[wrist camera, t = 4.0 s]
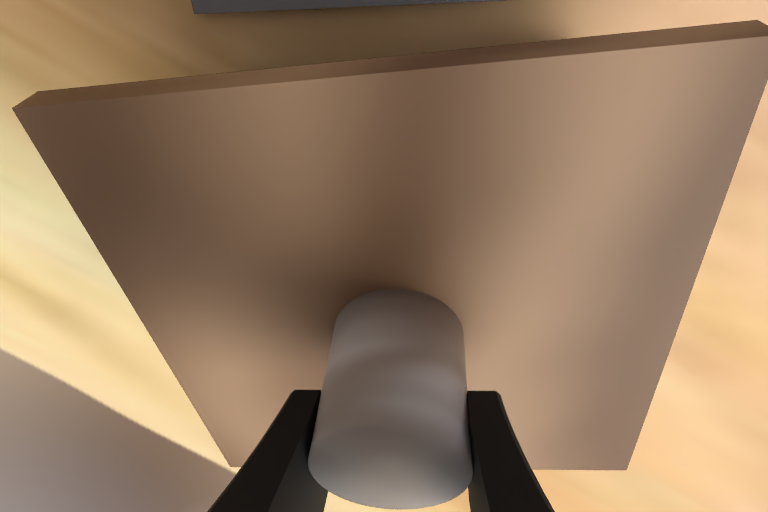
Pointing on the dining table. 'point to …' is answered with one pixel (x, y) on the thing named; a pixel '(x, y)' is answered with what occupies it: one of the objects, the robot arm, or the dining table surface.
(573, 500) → the dining table surface
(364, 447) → the lid
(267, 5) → the mat
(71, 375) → the dining table surface
